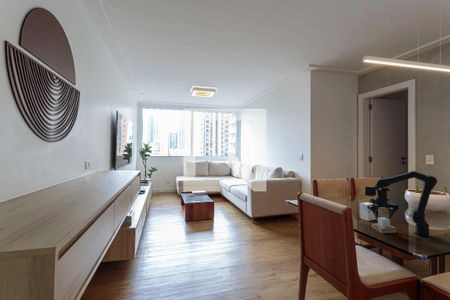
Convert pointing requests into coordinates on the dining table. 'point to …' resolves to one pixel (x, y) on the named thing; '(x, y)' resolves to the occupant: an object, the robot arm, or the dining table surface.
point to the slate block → (384, 222)
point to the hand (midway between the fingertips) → (383, 219)
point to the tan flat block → (384, 228)
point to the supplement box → (366, 212)
